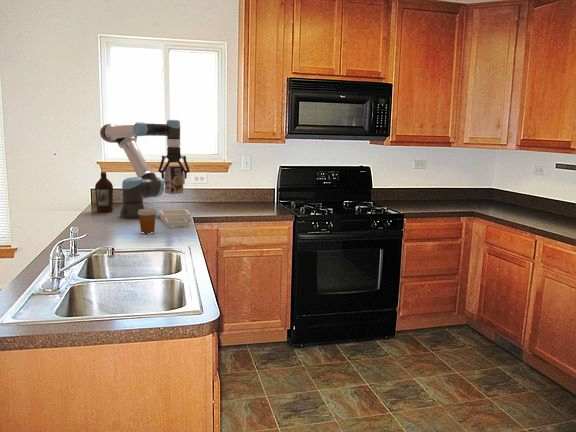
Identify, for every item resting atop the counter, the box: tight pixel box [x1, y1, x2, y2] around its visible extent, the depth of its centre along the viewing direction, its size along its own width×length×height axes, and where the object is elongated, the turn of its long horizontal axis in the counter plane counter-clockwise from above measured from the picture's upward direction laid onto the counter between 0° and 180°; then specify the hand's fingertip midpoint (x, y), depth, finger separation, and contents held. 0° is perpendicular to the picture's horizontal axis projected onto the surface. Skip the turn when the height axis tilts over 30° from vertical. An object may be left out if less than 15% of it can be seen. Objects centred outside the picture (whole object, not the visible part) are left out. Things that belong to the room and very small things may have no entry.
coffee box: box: [164, 165, 184, 195], centre depth 293 cm, size 9×6×16 cm
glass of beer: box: [138, 208, 158, 233], centre depth 254 cm, size 10×10×12 cm
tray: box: [164, 217, 189, 228], centre depth 278 cm, size 11×14×3 cm
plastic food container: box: [158, 208, 192, 222], centre depth 296 cm, size 16×17×4 cm
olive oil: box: [94, 171, 114, 213], centre depth 312 cm, size 11×11×25 cm
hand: (174, 184), depth 293 cm, fingers closed on coffee box, 11 cm apart
